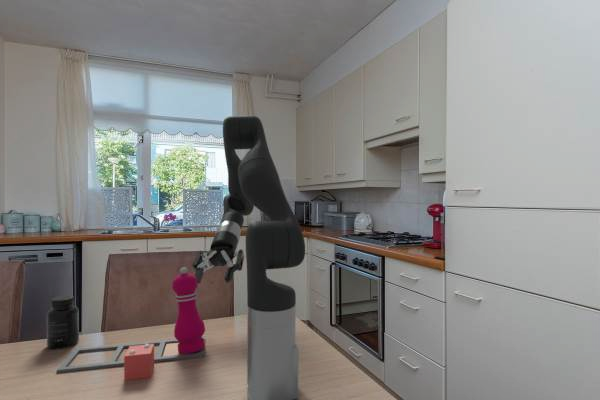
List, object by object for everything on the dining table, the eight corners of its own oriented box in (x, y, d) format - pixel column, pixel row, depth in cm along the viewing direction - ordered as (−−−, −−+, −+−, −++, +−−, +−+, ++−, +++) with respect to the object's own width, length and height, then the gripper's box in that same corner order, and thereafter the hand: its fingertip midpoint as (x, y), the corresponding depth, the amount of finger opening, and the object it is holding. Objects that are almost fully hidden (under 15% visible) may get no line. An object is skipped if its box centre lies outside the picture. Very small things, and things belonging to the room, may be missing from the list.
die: (154, 366, 77) (154, 341, 77) (150, 377, 72) (150, 350, 72) (129, 368, 76) (129, 343, 76) (124, 380, 71) (124, 353, 71)
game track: (204, 338, 92) (204, 336, 92) (204, 356, 82) (204, 354, 82) (75, 351, 85) (75, 348, 85) (56, 372, 74) (56, 370, 74)
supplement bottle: (52, 340, 91) (52, 295, 91) (82, 337, 93) (82, 293, 93) (41, 351, 85) (41, 302, 85) (74, 347, 87) (74, 300, 87)
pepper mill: (198, 354, 80) (189, 268, 81) (170, 355, 82) (161, 271, 83) (211, 342, 88) (203, 263, 88) (185, 343, 89) (178, 266, 90)
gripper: (201, 230, 106) (182, 273, 93) (245, 229, 104) (233, 272, 91) (208, 247, 111) (192, 289, 98) (251, 246, 108) (240, 289, 96)
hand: (212, 281), depth 95 cm, fingers open, 8 cm apart
